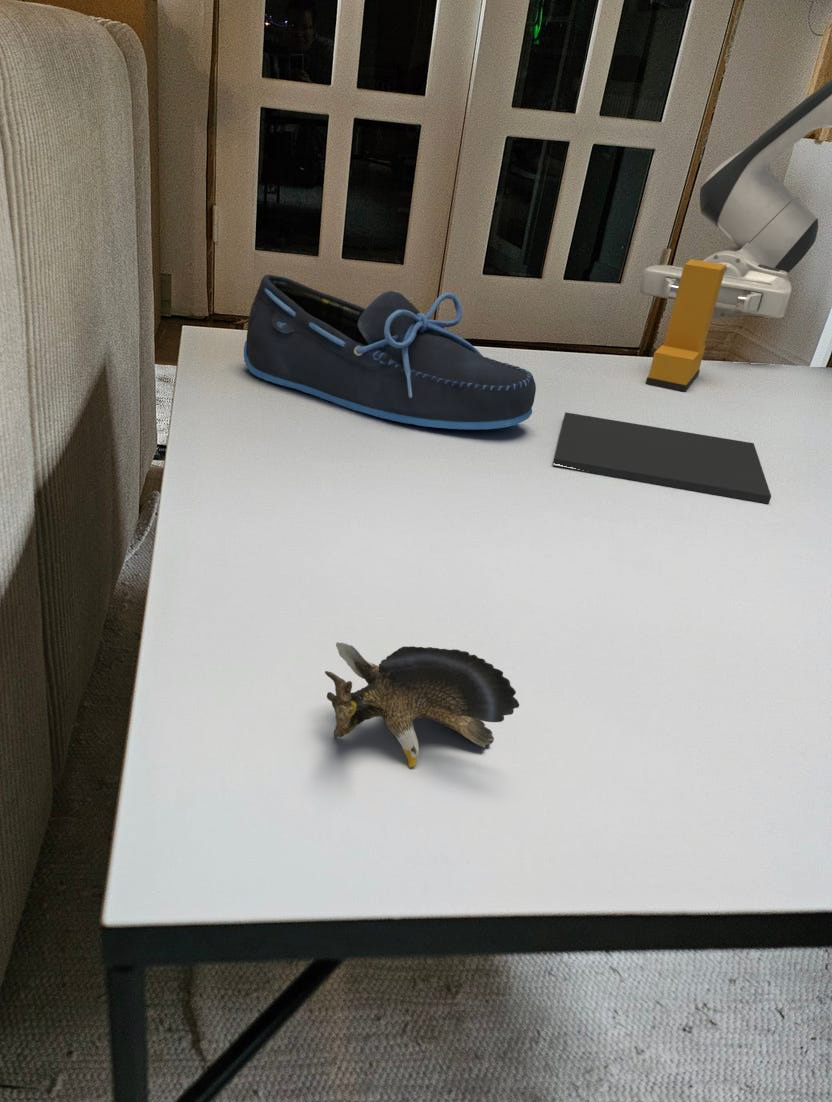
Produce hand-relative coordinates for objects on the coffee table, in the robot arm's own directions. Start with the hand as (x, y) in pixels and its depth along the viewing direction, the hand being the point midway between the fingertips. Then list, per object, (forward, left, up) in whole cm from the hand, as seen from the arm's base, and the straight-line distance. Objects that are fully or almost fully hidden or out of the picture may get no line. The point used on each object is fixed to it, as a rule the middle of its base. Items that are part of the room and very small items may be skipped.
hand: (706, 297), depth 128 cm
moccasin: (+35, +42, -9) cm, 55 cm away
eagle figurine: (+19, +102, -9) cm, 104 cm away
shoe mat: (+5, +46, -9) cm, 47 cm away
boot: (+3, +12, -9) cm, 15 cm away
